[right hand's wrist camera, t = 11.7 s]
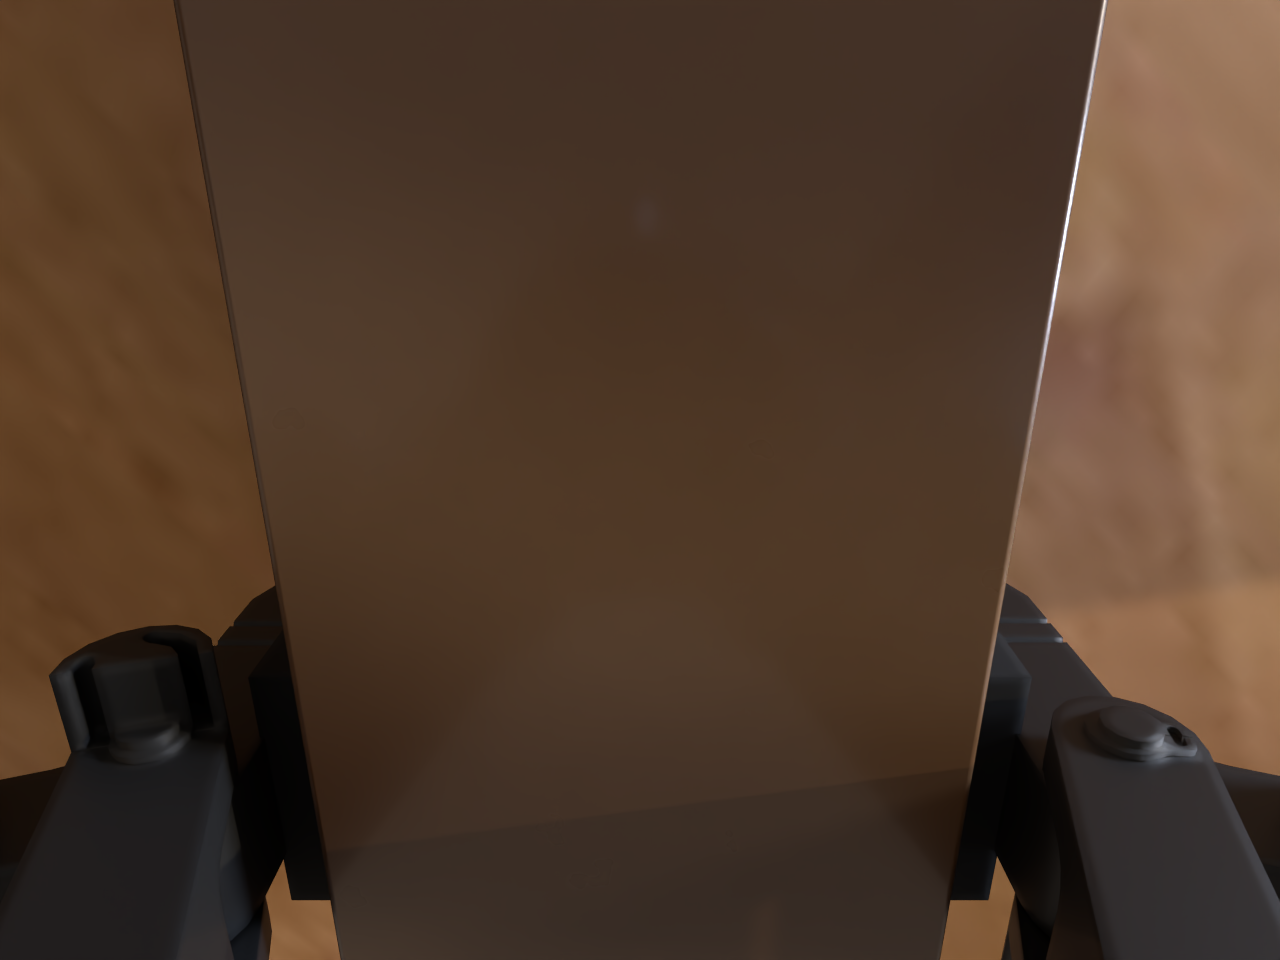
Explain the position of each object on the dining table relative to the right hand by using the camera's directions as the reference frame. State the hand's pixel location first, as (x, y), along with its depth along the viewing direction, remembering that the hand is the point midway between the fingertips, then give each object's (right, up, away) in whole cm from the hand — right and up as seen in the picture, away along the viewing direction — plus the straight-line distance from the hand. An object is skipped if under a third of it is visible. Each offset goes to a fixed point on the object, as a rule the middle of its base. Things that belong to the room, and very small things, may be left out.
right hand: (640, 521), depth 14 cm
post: (0, +33, -12) cm, 35 cm away
